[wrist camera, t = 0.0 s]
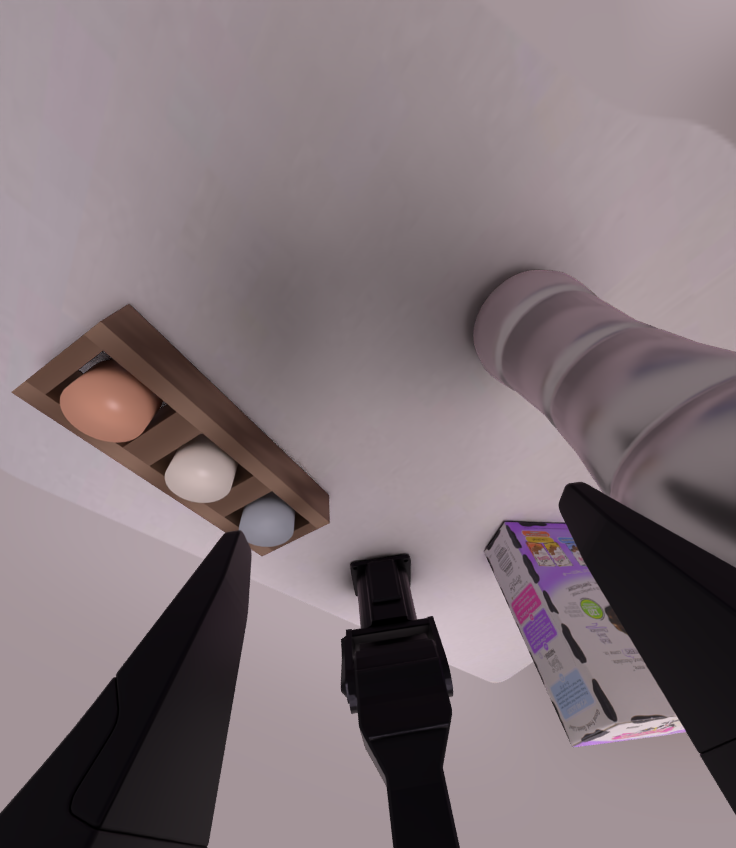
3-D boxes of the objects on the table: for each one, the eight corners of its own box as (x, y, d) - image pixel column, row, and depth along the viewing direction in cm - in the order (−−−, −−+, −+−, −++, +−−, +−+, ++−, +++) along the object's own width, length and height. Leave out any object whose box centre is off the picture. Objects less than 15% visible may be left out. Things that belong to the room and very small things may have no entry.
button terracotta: (177, 397, 21) (162, 420, 19) (132, 428, 22) (113, 452, 19) (118, 346, 18) (93, 366, 16) (71, 382, 19) (41, 405, 17)
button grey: (305, 507, 28) (304, 533, 26) (267, 527, 29) (263, 553, 27) (273, 480, 26) (269, 505, 24) (234, 502, 26) (226, 528, 24)
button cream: (251, 460, 24) (244, 485, 22) (209, 484, 25) (200, 510, 23) (208, 424, 22) (197, 448, 20) (165, 451, 23) (150, 477, 21)
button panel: (328, 495, 29) (329, 522, 27) (266, 527, 31) (261, 556, 28) (129, 303, 19) (100, 321, 16) (48, 367, 20) (11, 392, 18)
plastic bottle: (577, 263, 20) (1606, 570, 4) (539, 365, 24) (983, 729, 8) (476, 260, 19) (1250, 625, 3) (453, 366, 23) (754, 771, 7)
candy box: (481, 552, 38) (568, 752, 24) (503, 518, 34) (619, 727, 21) (582, 554, 41) (710, 733, 27) (612, 523, 37) (773, 709, 24)
